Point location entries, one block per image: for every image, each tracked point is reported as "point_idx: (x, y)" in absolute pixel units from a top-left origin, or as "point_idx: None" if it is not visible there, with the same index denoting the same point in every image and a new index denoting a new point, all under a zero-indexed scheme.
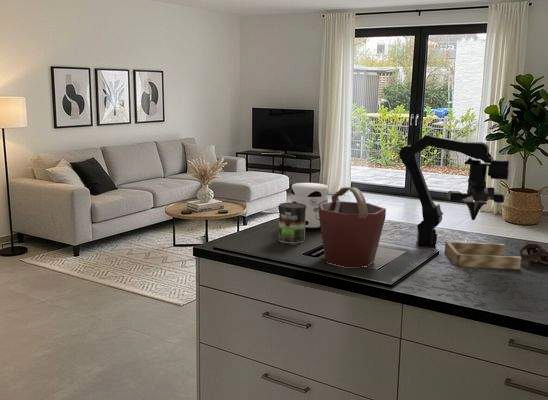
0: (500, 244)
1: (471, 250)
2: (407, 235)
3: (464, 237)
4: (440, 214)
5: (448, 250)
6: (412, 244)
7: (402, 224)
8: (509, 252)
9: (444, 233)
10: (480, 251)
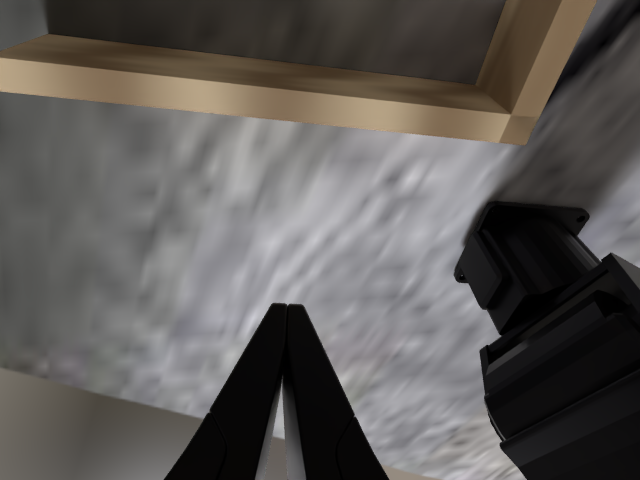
0: (33, 64)
1: (312, 72)
2: None
3: None
4: (597, 417)
5: None
6: None
7: (418, 458)
8: (4, 128)
9: None
10: (238, 62)
